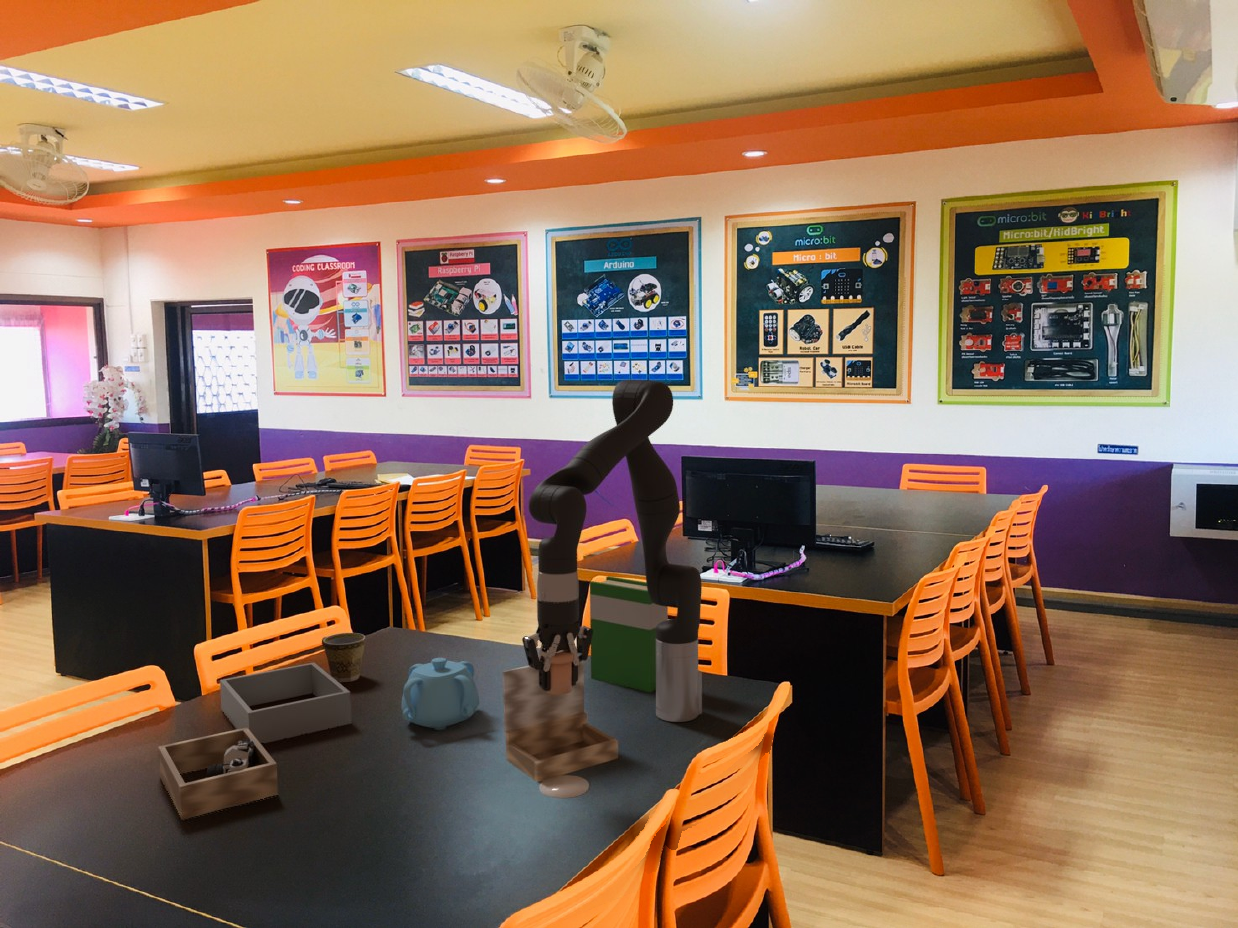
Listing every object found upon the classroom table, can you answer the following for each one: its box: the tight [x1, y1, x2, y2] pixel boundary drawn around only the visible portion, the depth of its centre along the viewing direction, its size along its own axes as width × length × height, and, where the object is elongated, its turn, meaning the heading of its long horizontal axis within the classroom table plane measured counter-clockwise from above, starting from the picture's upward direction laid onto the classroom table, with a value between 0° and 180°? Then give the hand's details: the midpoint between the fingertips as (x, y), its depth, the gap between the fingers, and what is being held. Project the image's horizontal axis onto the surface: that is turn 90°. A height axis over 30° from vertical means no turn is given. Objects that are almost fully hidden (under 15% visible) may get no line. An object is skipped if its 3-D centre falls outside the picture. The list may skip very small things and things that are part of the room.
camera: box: [205, 739, 255, 778], centre depth 174 cm, size 13×8×9 cm, turn 16°
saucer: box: [538, 774, 590, 799], centre depth 173 cm, size 9×9×1 cm
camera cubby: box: [157, 727, 279, 821], centre depth 175 cm, size 16×21×6 cm
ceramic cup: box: [321, 632, 366, 683], centre depth 235 cm, size 13×10×10 cm
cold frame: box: [502, 660, 619, 783], centre depth 184 cm, size 18×14×18 cm
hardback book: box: [589, 575, 669, 693], centre depth 229 cm, size 18×7×24 cm, turn 53°
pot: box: [543, 650, 574, 695], centre depth 173 cm, size 6×6×7 cm
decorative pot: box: [400, 657, 480, 731], centre depth 206 cm, size 16×16×14 cm
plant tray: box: [219, 662, 353, 745], centre depth 209 cm, size 21×25×7 cm
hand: (558, 686), depth 174 cm, fingers closed on pot, 4 cm apart
